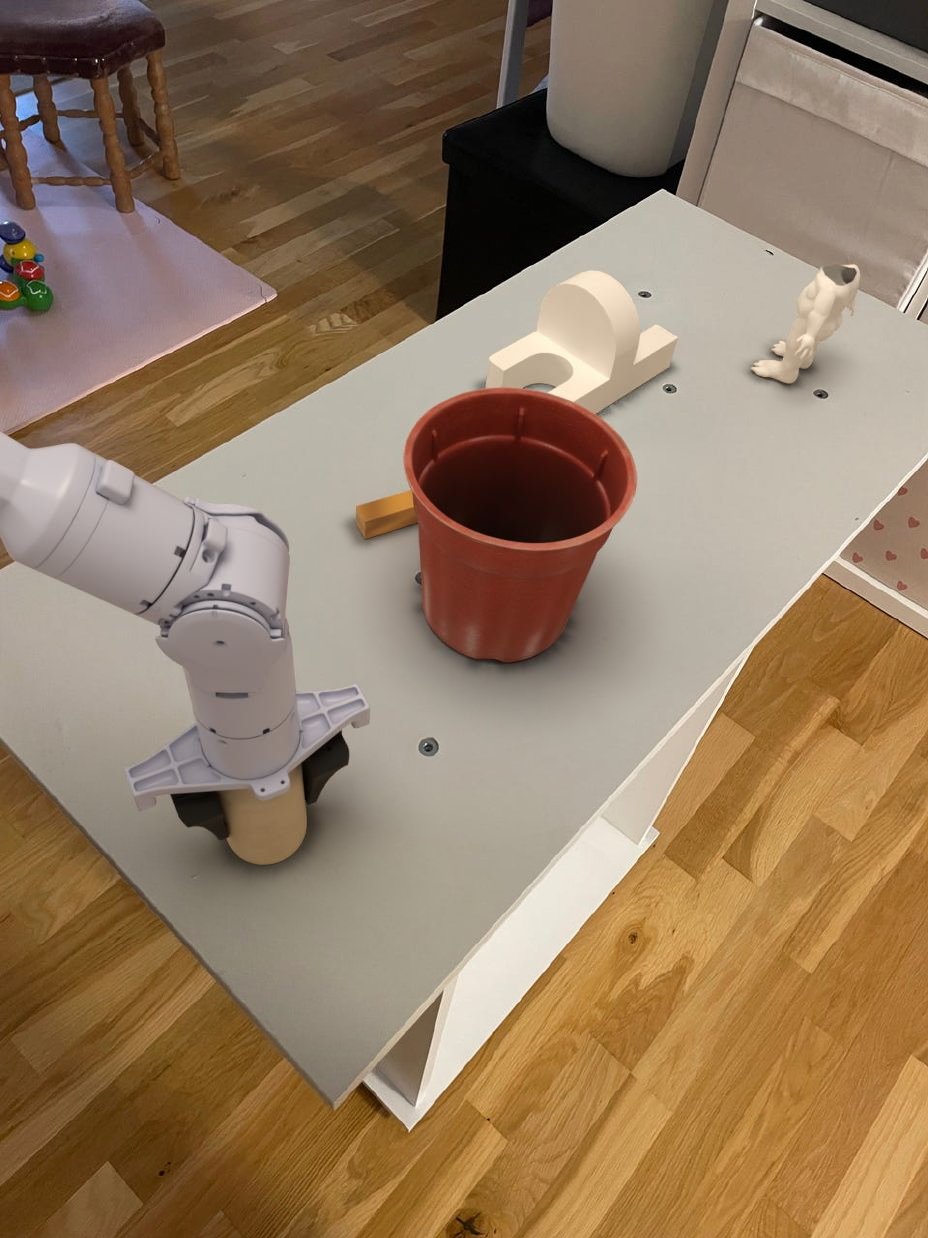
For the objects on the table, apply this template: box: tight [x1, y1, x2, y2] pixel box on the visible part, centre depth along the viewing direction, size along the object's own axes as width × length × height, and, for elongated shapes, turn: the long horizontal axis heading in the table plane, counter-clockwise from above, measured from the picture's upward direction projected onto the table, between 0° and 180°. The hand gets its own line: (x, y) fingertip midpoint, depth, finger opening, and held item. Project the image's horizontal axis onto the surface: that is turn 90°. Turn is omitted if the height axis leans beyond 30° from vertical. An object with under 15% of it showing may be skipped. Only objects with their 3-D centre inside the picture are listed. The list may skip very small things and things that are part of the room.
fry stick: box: [355, 489, 418, 540], centre depth 87 cm, size 14×2×2 cm, turn 117°
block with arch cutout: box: [485, 269, 679, 415], centre depth 97 cm, size 18×10×11 cm, turn 134°
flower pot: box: [402, 387, 638, 663], centre depth 76 cm, size 16×16×16 cm
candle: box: [215, 763, 308, 866], centre depth 64 cm, size 6×6×10 cm
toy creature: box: [750, 263, 861, 384], centre depth 100 cm, size 12×6×12 cm, turn 141°
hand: (263, 809), depth 66 cm, fingers closed on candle, 5 cm apart
